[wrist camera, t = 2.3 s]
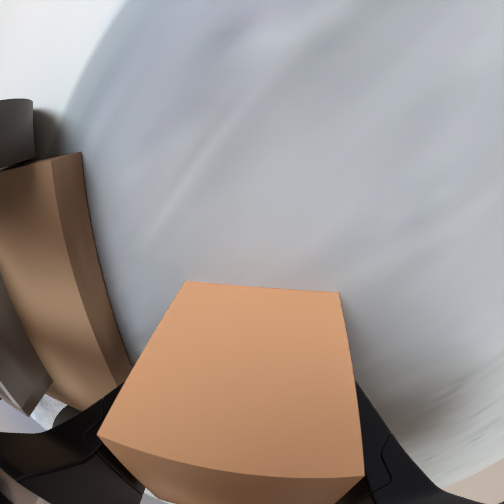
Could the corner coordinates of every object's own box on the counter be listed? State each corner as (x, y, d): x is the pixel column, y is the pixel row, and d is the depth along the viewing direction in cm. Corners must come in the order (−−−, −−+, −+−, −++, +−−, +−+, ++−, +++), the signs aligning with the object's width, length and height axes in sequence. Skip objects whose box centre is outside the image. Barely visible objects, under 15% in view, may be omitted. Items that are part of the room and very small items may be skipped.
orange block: (316, 388, 11) (313, 520, 6) (200, 377, 12) (158, 498, 6) (338, 292, 9) (364, 475, 4) (185, 280, 9) (96, 434, 4)
